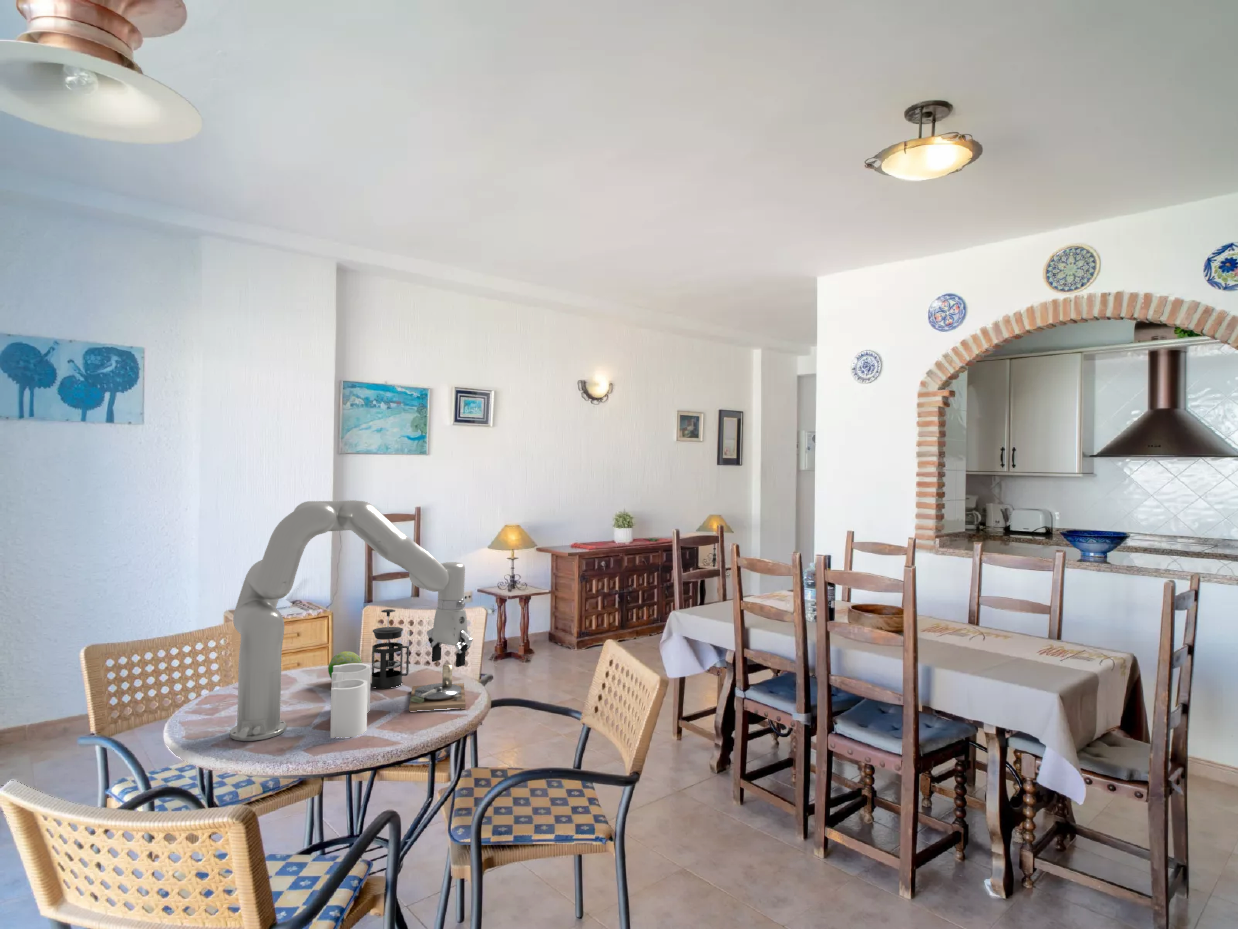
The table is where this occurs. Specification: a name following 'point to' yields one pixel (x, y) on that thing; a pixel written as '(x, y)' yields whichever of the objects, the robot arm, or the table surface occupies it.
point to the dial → (440, 687)
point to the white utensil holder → (350, 699)
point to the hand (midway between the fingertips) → (448, 663)
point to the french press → (388, 657)
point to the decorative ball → (343, 660)
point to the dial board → (437, 701)
